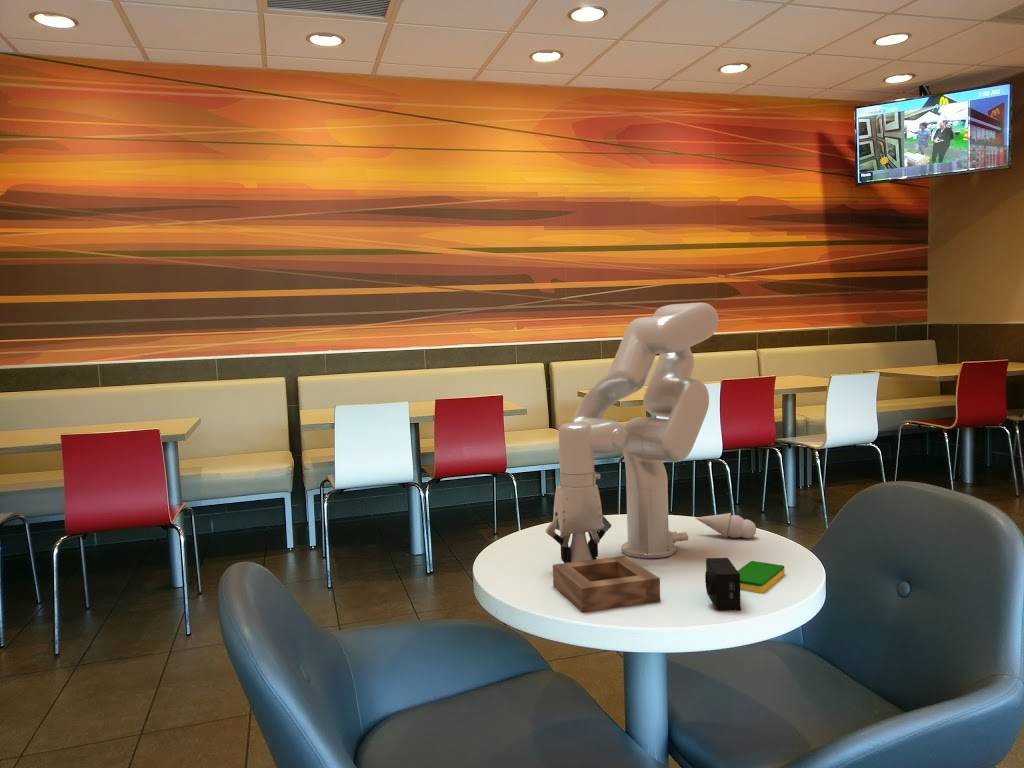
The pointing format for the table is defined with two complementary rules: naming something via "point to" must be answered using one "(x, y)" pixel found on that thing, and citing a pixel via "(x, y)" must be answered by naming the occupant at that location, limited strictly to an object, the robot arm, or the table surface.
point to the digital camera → (723, 584)
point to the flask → (580, 548)
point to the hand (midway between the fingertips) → (579, 561)
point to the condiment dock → (606, 583)
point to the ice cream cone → (730, 525)
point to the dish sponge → (759, 576)
